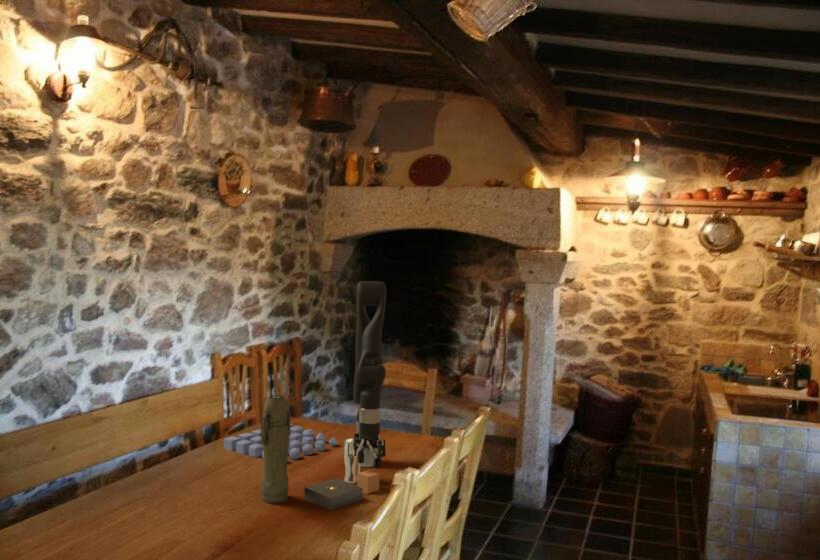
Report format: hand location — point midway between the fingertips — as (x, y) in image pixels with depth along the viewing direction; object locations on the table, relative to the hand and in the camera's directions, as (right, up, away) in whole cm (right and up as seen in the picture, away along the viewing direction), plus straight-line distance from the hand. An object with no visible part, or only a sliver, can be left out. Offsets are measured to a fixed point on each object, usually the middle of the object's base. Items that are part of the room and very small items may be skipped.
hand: (368, 465), depth 247 cm
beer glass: (-7, -8, +10) cm, 15 cm away
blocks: (-39, -6, +49) cm, 63 cm away
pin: (-12, -8, -9) cm, 17 cm away
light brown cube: (0, -9, +1) cm, 9 cm away
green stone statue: (-31, -9, -10) cm, 34 cm away
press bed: (-12, -9, -9) cm, 17 cm away
